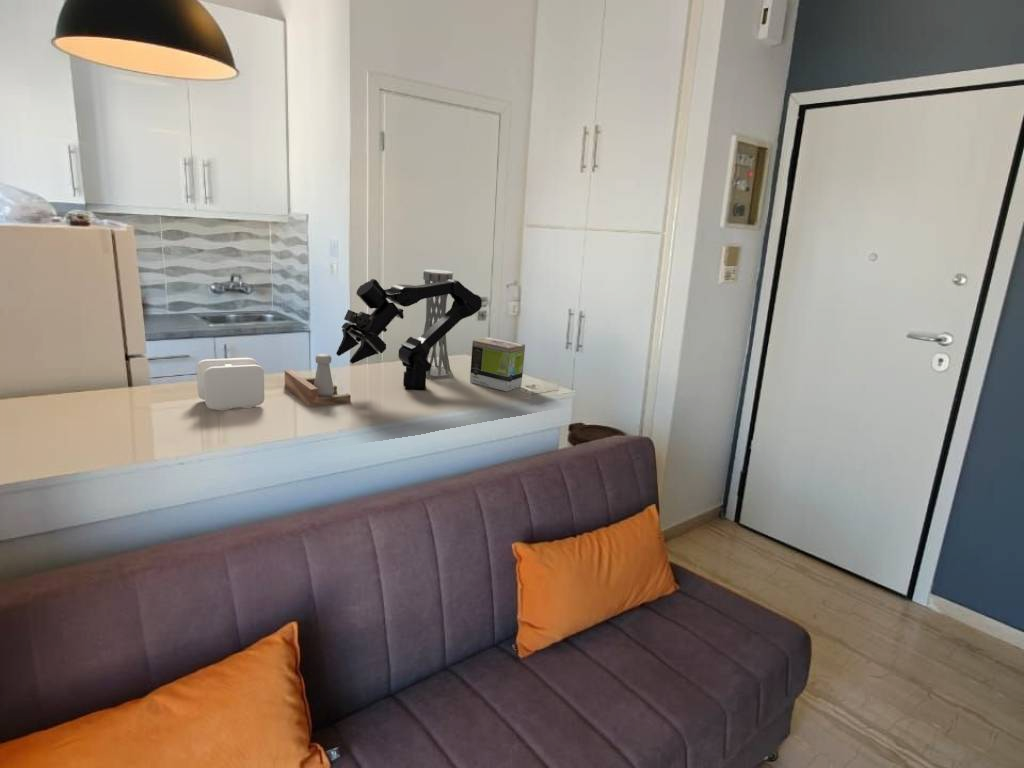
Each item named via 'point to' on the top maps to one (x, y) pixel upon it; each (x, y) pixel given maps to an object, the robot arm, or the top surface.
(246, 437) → the top surface
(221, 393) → the cable organizer
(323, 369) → the salt shaker
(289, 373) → the wooden letter e
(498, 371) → the tea box
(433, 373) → the grey lattice tower
